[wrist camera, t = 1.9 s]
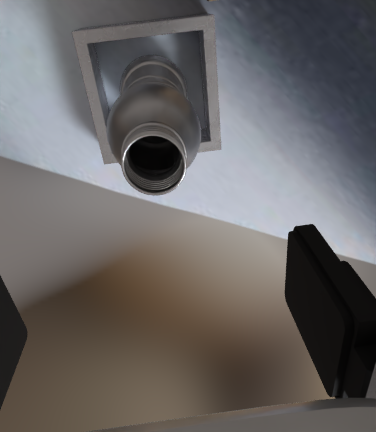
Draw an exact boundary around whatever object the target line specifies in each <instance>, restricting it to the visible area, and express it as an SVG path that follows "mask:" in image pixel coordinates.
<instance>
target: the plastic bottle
mask: <svg viewBox="0 0 376 432" xmlns="http://www.w3.org/2000/svg"><path fill="white" fill-rule="evenodd" d="M106 133H107V141H108V144H109V146H110V149H111V151H112V153H113V155H114V157H115V158H116V160H117V162H118V163H119V164H120V165H121V167H122V171H123V174H124V177H125V178H126V180H127V181H128V183H129V184H130V185H131V186H132V187H133V188H135V189H136V190H138V191H139V192H141V193H144V194H147V195H163V194H166V193H169V192H171V191H172V190H174V189H175V188H176V187H177V186H179V185H180V183H181V182H182V180H183V178H184V176H185V173H186V169H187V168H188V167H189V166H190V165H191V163H192V162H193V160H194V159H195V157H196V155H197V152H198V150H199V147H200V142H201V126H200V121H199V118H198V115H197V113H196V111H195V109H194V108H193V106H192V105H191V103H190V101H189V100H188V99H187V85H186V81H185V79H184V76H183V74H182V73H181V71H180V69H179V68H178V67H177V66H176V65H175V64H174V63H173V62H171V61H170V60H168V59H166V58H164V57H161V56H157V55H147V56H142V57H140V58H138V59H135V60H134V61H133V62H132V63H130V64H129V66H128V67H127V68H126V69H125V71H124V73H123V75H122V78H121V82H120V97H119V98H118V99H117V100H116V101H115V103H114V105H113V106H112V108H111V110H110V112H109V116H108V119H107V127H106Z"/></svg>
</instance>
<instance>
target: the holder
mask: <svg viewBox="0 0 376 432" xmlns="http://www.w3.org/2000/svg"><path fill="white" fill-rule="evenodd" d="M197 30H199V42H200V56H201V69H202V83H203V96H204V110H205V123H206V129H202V130H201V142H200V147H199V150H198V152H206V151H214V150H221V135H220V116H219V97H218V78H217V59H216V40H215V21H214V15H212V14H208V13H207V14H199V15H190V16H182V17H174V18H165V19H157V20H148V21H140V22H132V23H123V24H115V25H106V26H98V27H90V28H81V29H78V30H75V31H73V32H72V35H73V39H74V43H75V47H76V51H77V55H78V59H79V63H80V67H81V71H82V75H83V80H84V84H85V88H86V92H87V96H88V100H89V104H90V108H91V112H92V116H93V121H94V125H95V129H96V133H97V137H98V141H99V145H100V149H101V153H102V157H103V161H104V164H111V163H118V162H117V160H116V158H115V157H114V155H113V153H112V151H111V149H110V146H109V144H108V141H107V133H106V127H107V119H108V116H109V108H108V103H107V98H106V94H105V89H104V84H103V80H102V75H101V71H100V66H99V61H98V57H97V52H96V48H95V43H97V42H105V41H113V40H122V39H130V38H138V37H147V36H155V35H163V34H172V33H180V32H188V31H197ZM198 152H197V153H198Z"/></svg>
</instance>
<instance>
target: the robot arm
mask: <svg viewBox="0 0 376 432" xmlns="http://www.w3.org/2000/svg"><path fill="white" fill-rule="evenodd" d="M285 299H286V302H287V305H288V307H289V309H290V312H291V314H292V316H293V318H294V320H295V323H296V325H297V327H298V329H299V332H300V334H301V336H302V338H303V341H304V343H305V345H306V347H307V350H308V352H309V354H310V356H311V359H312V361H313V363H314V365H315V367H316V370H317V372H318V374H319V376H320V379H321V381H322V383H323V385H324V388H325V390H326V392H327V394H328V395H329V396H330V397H335V398H336V399H326V400H315V401H307V402H299V403H291V404H282V405H274V406H266V407H258V408H252V409H244V410H237V411H229V412H222V413H215V414H208V415H201V416H193V417H186V418H179V419H172V420H165V421H158V422H151V423H144V424H137V425H130V426H123V427H116V428H109V429H102V430H95V431H89V432H376V298H375V297H374V296H373V294H372V293H371V292H370V290H369V289H368V288H367V286H366V285H365V284H364V282H363V281H362V280H361V278H360V277H359V276H358V274H357V273H356V272H355V271H354V269H353V268H352V267H351V265H350V264H349V263H348V262H346V261H340V260H339V258H338V257H337V256H336V254H335V253H334V252H333V250H332V249H331V247H330V246H329V245H328V243H327V242H326V241H325V239H324V238H323V236H322V235H321V234H320V232H319V231H318V230H317V228H316V227H315V226H314V225H313V224H309V225H302V226H295V227H294V230H293V231H291V232H289V233H288V247H287V263H286V280H285ZM26 340H27V329H26V326H25V324H24V322H23V320H22V318H21V316H20V314H19V312H18V310H17V308H16V306H15V304H14V302H13V300H12V298H11V296H10V294H9V292H8V290H7V288H6V286H5V284H4V282H3V280H2V278H1V276H0V409H1V406H2V404H3V401H4V398H5V396H6V393H7V390H8V388H9V385H10V382H11V380H12V377H13V374H14V372H15V369H16V366H17V364H18V361H19V358H20V356H21V353H22V350H23V348H24V345H25V342H26Z"/></svg>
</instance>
